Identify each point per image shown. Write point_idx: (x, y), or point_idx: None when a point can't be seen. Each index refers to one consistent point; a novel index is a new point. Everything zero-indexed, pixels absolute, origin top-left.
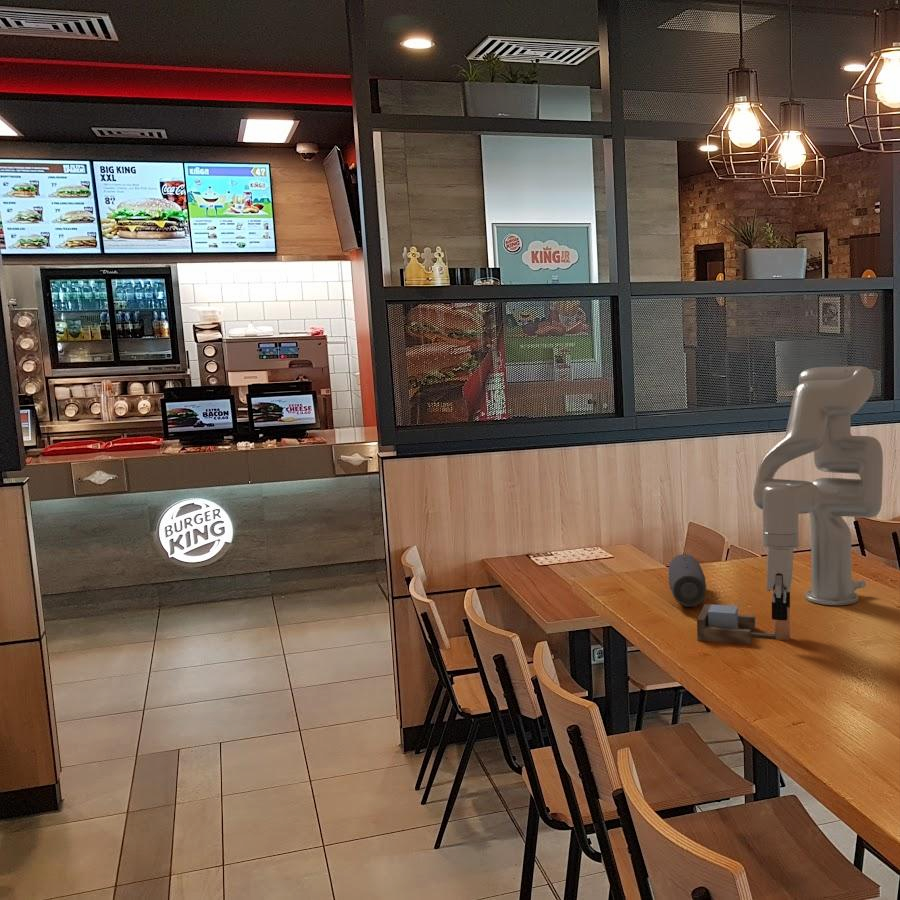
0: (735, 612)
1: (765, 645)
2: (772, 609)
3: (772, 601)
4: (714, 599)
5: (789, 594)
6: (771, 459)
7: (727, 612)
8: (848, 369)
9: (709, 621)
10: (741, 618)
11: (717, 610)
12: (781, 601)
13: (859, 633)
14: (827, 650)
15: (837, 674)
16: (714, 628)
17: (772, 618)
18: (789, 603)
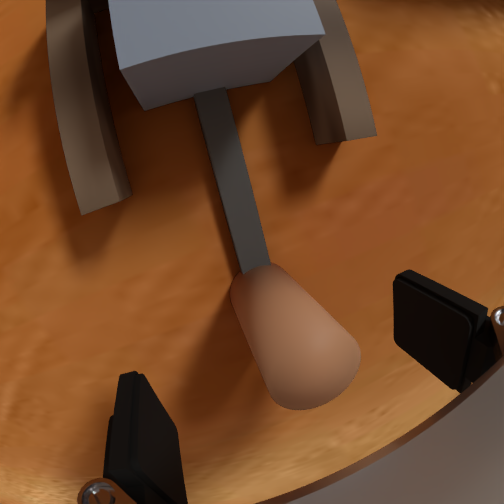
0: (169, 57)
1: (129, 268)
2: (114, 424)
3: (127, 471)
4: (483, 4)
5: (450, 384)
6: None
7: (128, 17)
8: None
9: None
10: (324, 75)
11: None
12: None
13: (383, 419)
14: (211, 438)
15: (66, 475)
16: (55, 32)
17: (120, 378)
18: (414, 355)
